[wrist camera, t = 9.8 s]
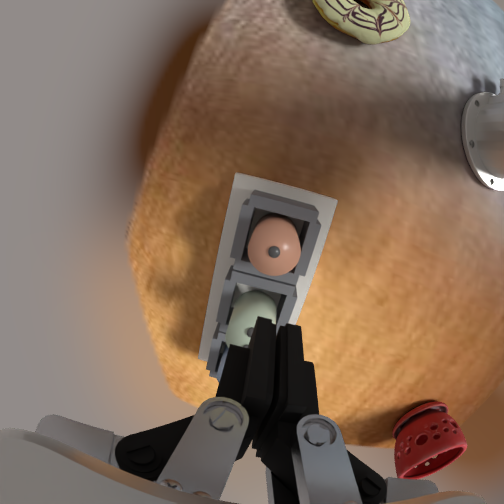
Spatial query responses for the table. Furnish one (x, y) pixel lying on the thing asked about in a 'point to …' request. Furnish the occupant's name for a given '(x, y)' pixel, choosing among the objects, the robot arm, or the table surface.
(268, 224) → the button one pip
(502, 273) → the table surface
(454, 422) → the plant pot
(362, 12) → the decorated donut
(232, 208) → the button board
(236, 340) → the button two pip
